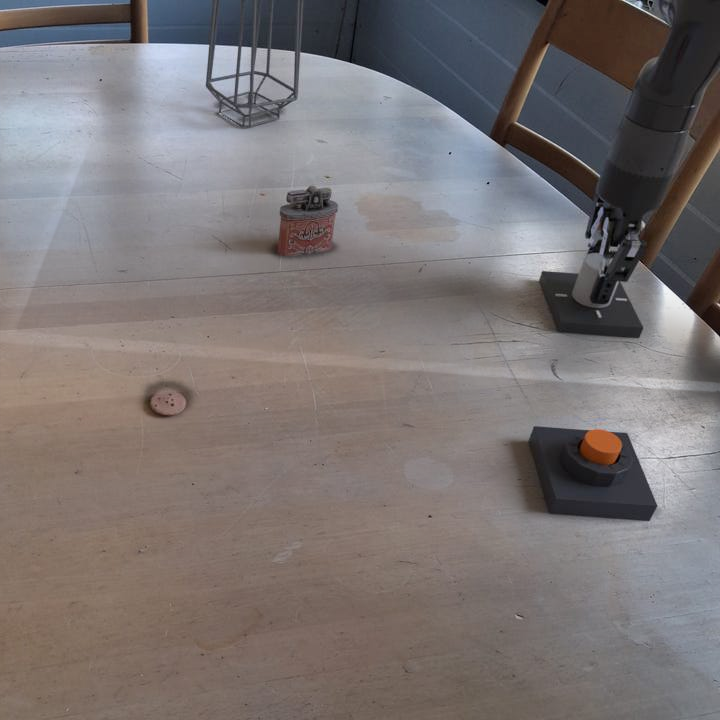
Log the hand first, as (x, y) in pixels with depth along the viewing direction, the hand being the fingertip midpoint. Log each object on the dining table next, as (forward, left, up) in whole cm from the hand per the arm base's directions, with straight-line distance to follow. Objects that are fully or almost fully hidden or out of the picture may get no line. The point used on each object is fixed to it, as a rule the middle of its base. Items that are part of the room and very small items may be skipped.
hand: (592, 289), depth 113 cm
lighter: (+36, -10, -4) cm, 37 cm away
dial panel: (0, 0, -4) cm, 4 cm away
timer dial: (0, 0, -1) cm, 1 cm away
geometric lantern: (+45, -57, -4) cm, 73 cm away
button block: (+7, +31, -4) cm, 32 cm away
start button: (+7, +31, -1) cm, 32 cm away
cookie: (+51, +24, -4) cm, 56 cm away
